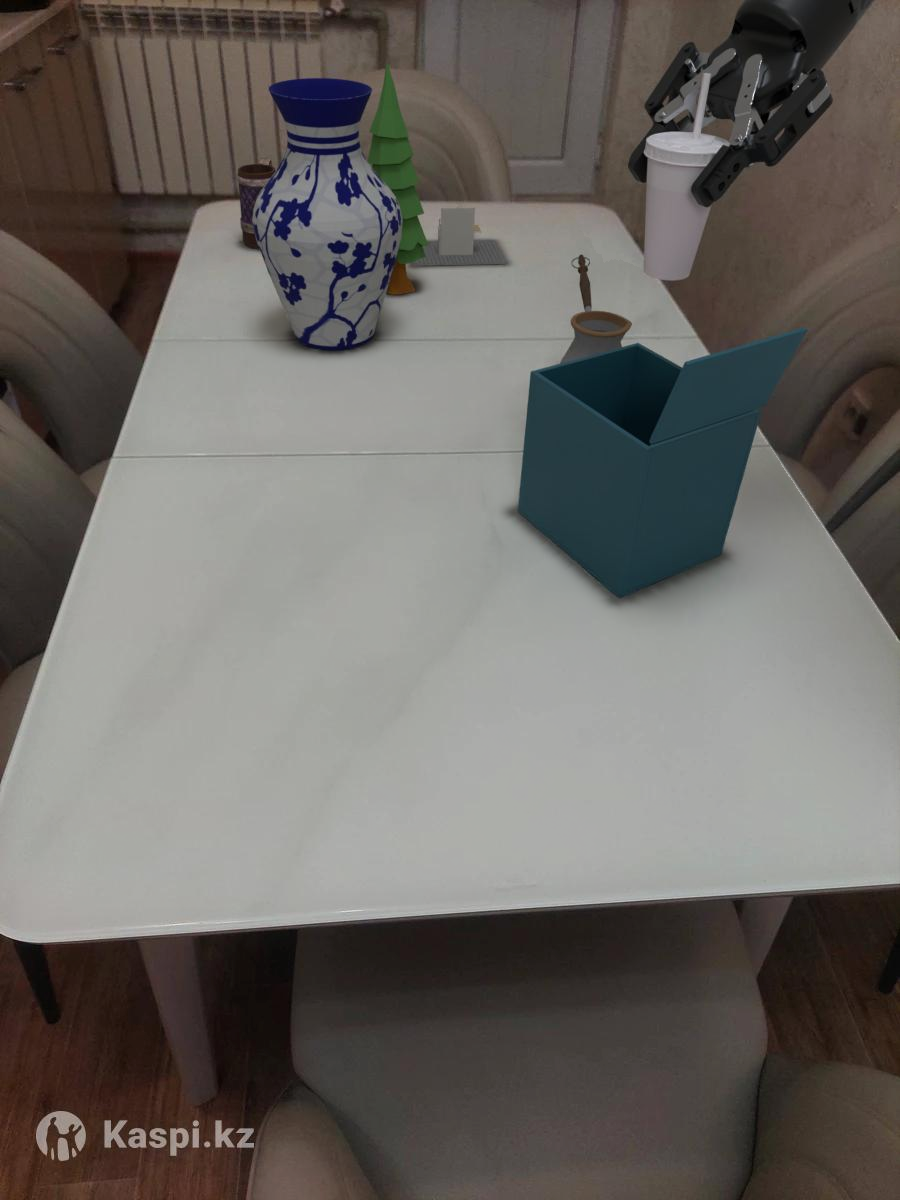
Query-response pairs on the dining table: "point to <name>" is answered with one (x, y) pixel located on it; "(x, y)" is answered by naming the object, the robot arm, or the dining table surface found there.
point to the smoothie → (676, 196)
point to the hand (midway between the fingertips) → (666, 186)
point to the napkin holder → (459, 242)
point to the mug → (252, 195)
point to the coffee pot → (593, 324)
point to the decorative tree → (397, 180)
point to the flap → (726, 384)
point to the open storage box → (627, 469)
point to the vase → (327, 217)
